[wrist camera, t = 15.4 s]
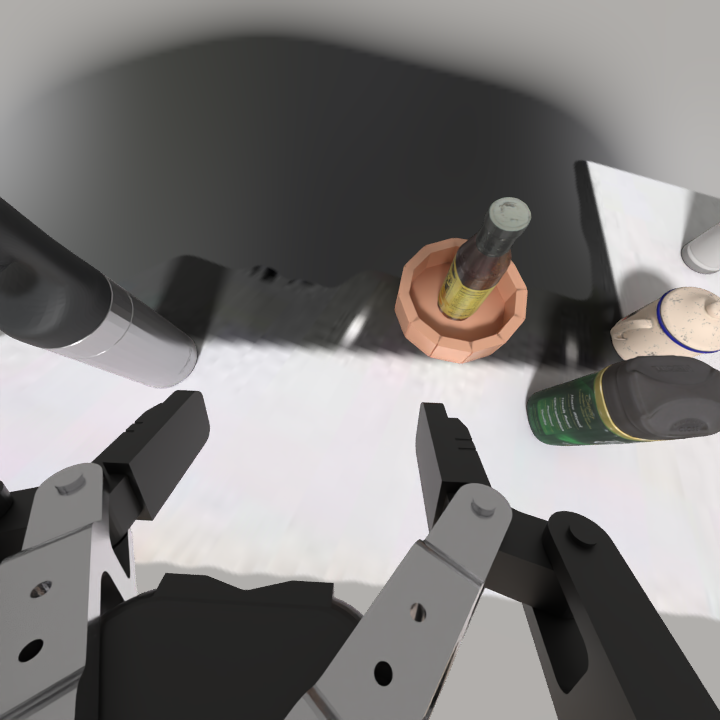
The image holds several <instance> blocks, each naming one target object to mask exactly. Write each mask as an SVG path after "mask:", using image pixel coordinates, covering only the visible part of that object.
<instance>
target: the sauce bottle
mask: <svg viewBox="0 0 720 720" xmlns="http://www.w3.org/2000/svg"><path fill="white" fill-rule="evenodd" d="M530 220H531V212H530V210H529V209H528V206H527V205H526V204H525V203H523V202H522V201H520V200H519V199H516V198H511V197H507V198H501V199H499V200H497V201H495V202H494V203H493V204H491V206H490V208H489V210H488V211H487V213H486V215H485V219H484V223H483V225H482V227H481V229H480V230H479V231H478V233H476V234H475V235H474V236H472V237H471V238H470V239H469V240H467V241H466V242H465V243H464V244H462V245H461V246H460V247H459V249H458V251H457V253H456V255H455V257H454V260H453V262H452V264H451V266H450V269H449V271H448V273H447V275H446V278H445V280H444V282H443V285H442V287H441V289H440V291H439V294H438V303H437V305H438V308H439V310H440V312H441V313H442V314H443V315H444V316H445V317H446V318H448V319H450V320H454V321H463V320H465V319H467V318H469V317H470V316H471V315H473V314H474V313H475V312H476V311H477V310H478V308H479V307H480V306H481V304H482V303H483V302H484V301H485V299H486V298H487V297H488V295H489V294H490V293H491V292H492V290H493V289H494V288H495V286H496V285H497V284H498V283H499V280H500V279H501V278H502V276H503V274H505V272H506V271H507V269H508V267H509V265H510V262H511V247H512V245H513V243H514V241H515V240H516V238H517V237H519V236H520V235H521V234H522V233H523V232H524V230H525V229H526V228H527V226H528V224H529V222H530Z"/></svg>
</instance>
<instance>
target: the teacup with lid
mask: <svg viewBox="0 0 720 720" xmlns="http://www.w3.org/2000/svg"><path fill="white" fill-rule="evenodd" d="M610 334H611V337H612V343H613V346H614V348H615V350H616V351H617V353H618V354H619V355H620V357H621V358H622V359H624V360H628V359H631V358H635V357H637V356H661V355H675V356H686V357H695V356H698V355H701V354H704V353H714V352H717V351H720V298H719V297H718V296H716V295H715V294H713V293H711V292H709V291H707V290H704V289H701V288H696V287H681V288H676V289H673V290H670V291H668V292H667V293H665V294H664V295H663V296H662V297H661V298H659V299H657V300H656V301H654V302H652V303H650V304H648V305H646V306H645V307H643V308H641V309H639V310H637V311H635V312H634V313H632V314H630V315H628V316H626V317H624V318H623V319H621V320H620V321H618V322H617V323H616V325H615V326H614V327H613V328H612V329H611V331H610Z"/></svg>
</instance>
